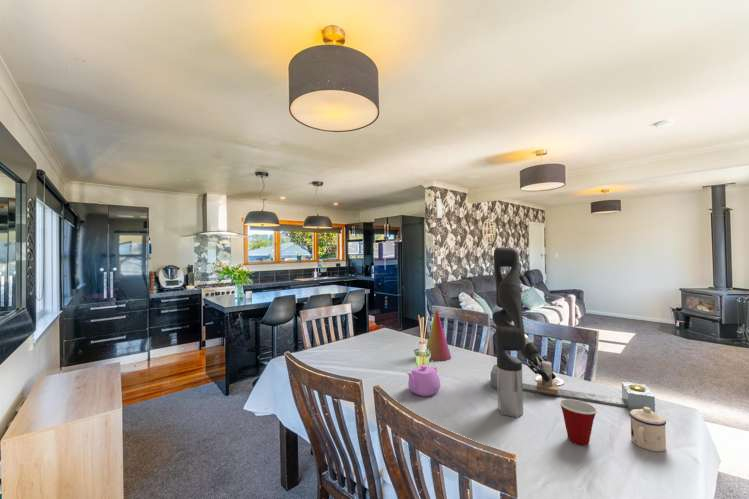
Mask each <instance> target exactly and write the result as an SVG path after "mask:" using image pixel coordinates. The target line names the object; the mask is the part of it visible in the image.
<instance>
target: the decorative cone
mask: <svg viewBox="0 0 749 499" xmlns="http://www.w3.org/2000/svg"><path fill="white" fill-rule="evenodd" d="M442 324H443V323H442V321H441V318H440V314H439V311H438V308H437V306H436V307H435V311H434V315H433V319H432V323H431V327H430V331H429V335H428V340H427V344H426V347H427V349H429V350H430V351H431V357H430V360H433V361H432V362H439V361H440V362H447V360H448V361H450V360H452V355H451V351H450V349H449V344H448V342H447V338H446V336H445V331H444V328H443V325H442ZM430 360H429V361H430Z"/></svg>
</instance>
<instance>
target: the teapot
mask: <svg viewBox="0 0 749 499" xmlns="http://www.w3.org/2000/svg"><path fill="white" fill-rule="evenodd" d="M406 375H408V383H407V384H408V385H407V387H408V389H409V391H410V392H411V393H413V394H415V395H419V396H422V397H429V396H432V395H435V394H437V393H438V392H439V390H440V389H441V380H440V377H439V374H438V369H437V368H436V367H435V366H428V365H426V364H421V365H420V366H419V365H418V366H416V367H415V368H413V369H412V371H411V372H406Z"/></svg>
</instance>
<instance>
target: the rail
mask: <svg viewBox="0 0 749 499" xmlns="http://www.w3.org/2000/svg"><path fill="white" fill-rule="evenodd" d="M522 385H523V392H529V393H535V394H541V395H546V396H547V395H548V396H554V397H559V398H565V399H573V400H578V401H583V402H585V401H586V402H590V403H591V402H592V403H597V404H602V405H611V406H615V407H621V408H622V407H623V408H627V410H628V412H630V411H631V410H634V409H643V407H649V408H650V409H651V411H653V412H654V413H656V400H655V395H654V394H653V392H652V391H651V390H650V388H649V387H648V386H647V384H643V383H635V382H627V381H621V397H620V398H619V397H613V396H608V395H601V394H595V393H589V392H582V391H575V390H568V389H563V388H558V395H557V394H550V393H544V392H538V391H537V384H536V385H535V384H531V383H529V384H528V383H523V382H522ZM490 389H494V390H498V388H497V364H493V367H492V368H491V371H490Z"/></svg>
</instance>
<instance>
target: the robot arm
mask: <svg viewBox="0 0 749 499" xmlns="http://www.w3.org/2000/svg"><path fill="white" fill-rule="evenodd" d="M493 267H494V268H493V272H494V280H495V305H496V306H497V307H498V308H500V310H498V311H495V312H493V314H492V318H491V319H492V321H493V323H494V325H496V326H497V327H496V329H495V347H496V365H497V388H498V389H497V409H498V411H499V413H500V415H504V416H509V417H515V418H519V417H520V416H522V415H523V414H524V394H523V392H524V391H523V385H522V383H523V363H522V361H521V360H520V359H519V358H517V357H515V356H513V355H511V354H509V353H508V352H506V351H512V352H519V354H521V356H522V357H523V359H525V360H526V359H527V362H526V363H525V365H526V366H527V367H528V368H529V369H530V370H531V371H532V372H533V373H534V374H535V375H537V374H538V376H542V378H543V379H544V380H545V381H546V382H548V381H549V380H550V378H549V377H548V376H547V374H546V373H545V372H544V370H543V369H542V364H541V362H542V361H548V362H550V360H549V358H548V356H547V355H541V354H540V353H539V348H538V347H537V346H536V345H535V344H534V342H533V341H532V339H531V338H530V337H529V336H528V335H527V334H526V331H525V325H524V317H523V308H522V307H523V305H522V304H523V303H522V289H521V280H520V254H519V250H518V249H517V248H516V247H495V249H494V251H493ZM501 268H510V269H509V272H508V273H507V275H506V276H504V275H503V273H502V272H503V271H502V269H501ZM512 322H513V324H512ZM554 374H555V372H553V371H552V380H553V379H555V378H556V377H557V376H556V374H555V375H554ZM542 378H541V379H542ZM555 380H556V379H555Z"/></svg>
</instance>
